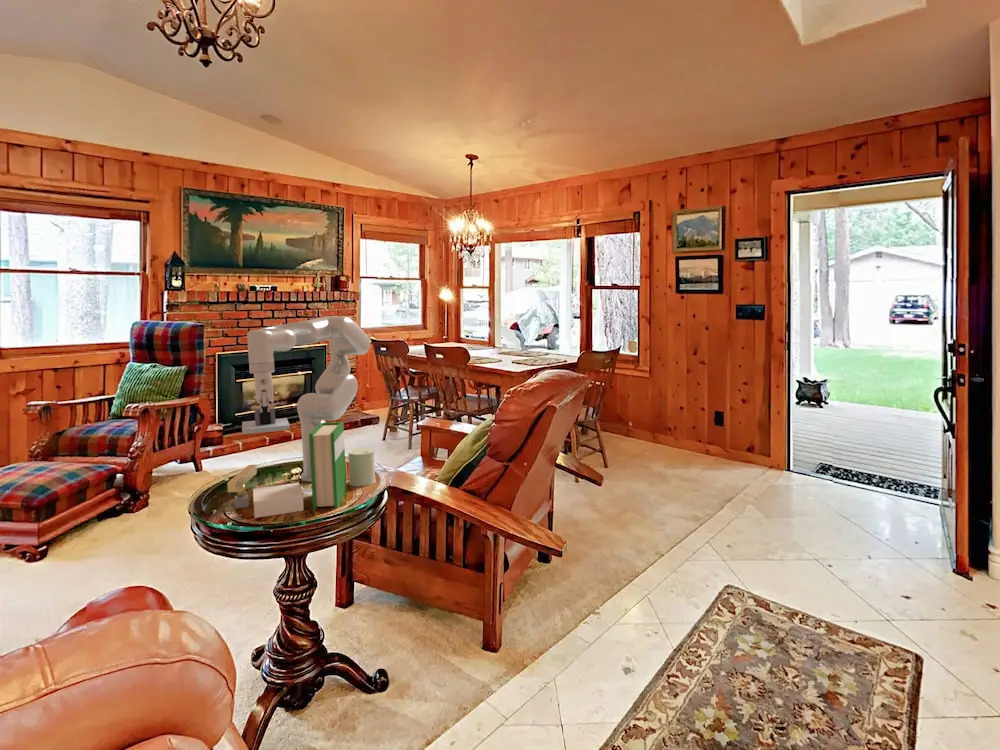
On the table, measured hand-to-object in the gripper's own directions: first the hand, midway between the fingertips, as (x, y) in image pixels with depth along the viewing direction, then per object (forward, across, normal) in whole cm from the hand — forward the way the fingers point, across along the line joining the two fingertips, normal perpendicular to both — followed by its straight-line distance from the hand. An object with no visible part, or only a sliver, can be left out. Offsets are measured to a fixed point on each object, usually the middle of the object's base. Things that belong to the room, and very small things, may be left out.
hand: (265, 422), depth 185 cm
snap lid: (+2, 0, 0) cm, 2 cm away
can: (+25, +2, -31) cm, 40 cm away
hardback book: (+25, -12, -18) cm, 33 cm away
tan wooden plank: (+22, -3, +8) cm, 23 cm away
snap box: (+25, -11, +1) cm, 28 cm away
